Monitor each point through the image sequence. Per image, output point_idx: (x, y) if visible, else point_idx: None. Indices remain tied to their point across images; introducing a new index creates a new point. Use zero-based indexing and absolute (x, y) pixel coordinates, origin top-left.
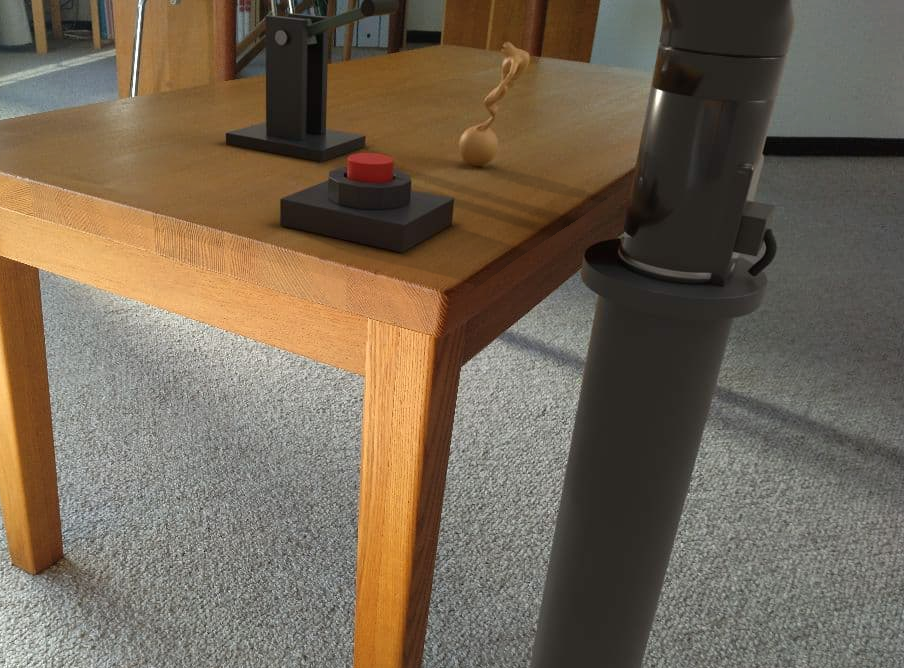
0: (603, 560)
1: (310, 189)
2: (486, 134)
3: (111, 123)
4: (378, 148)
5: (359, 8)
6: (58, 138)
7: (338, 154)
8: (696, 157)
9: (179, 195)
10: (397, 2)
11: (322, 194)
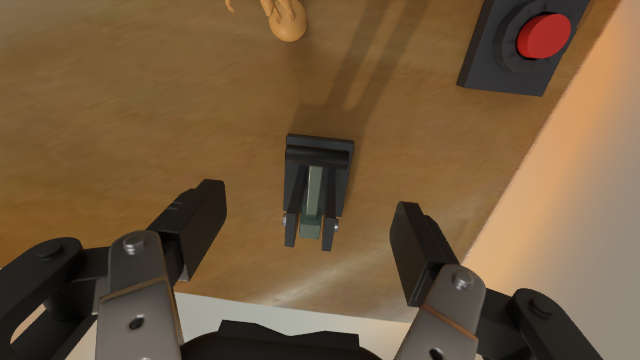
0: None
1: (512, 88)
2: (295, 7)
3: (329, 281)
4: (284, 122)
5: (321, 177)
6: (379, 282)
7: (329, 138)
8: None
9: (475, 176)
10: (290, 146)
11: (523, 74)
